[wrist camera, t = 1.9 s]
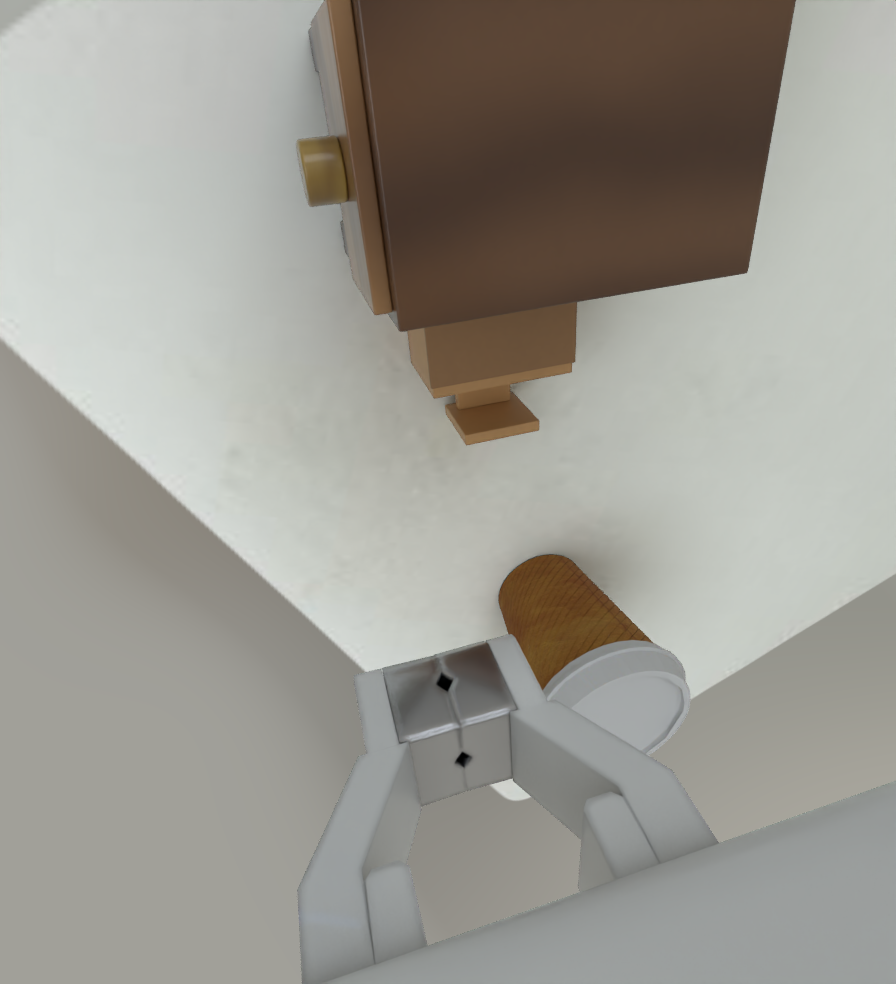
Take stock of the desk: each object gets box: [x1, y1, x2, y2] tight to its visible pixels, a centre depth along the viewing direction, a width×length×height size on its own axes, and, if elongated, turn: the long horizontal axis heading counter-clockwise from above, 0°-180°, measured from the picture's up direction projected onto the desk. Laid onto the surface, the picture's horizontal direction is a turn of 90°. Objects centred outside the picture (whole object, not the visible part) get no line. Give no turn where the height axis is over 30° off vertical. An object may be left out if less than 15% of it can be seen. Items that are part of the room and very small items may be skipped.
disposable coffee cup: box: [499, 555, 690, 755], centre depth 39 cm, size 10×10×12 cm
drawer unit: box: [296, 0, 796, 332], centre depth 22 cm, size 8×14×13 cm, turn 95°
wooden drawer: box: [408, 302, 577, 445], centre depth 31 cm, size 9×7×5 cm
